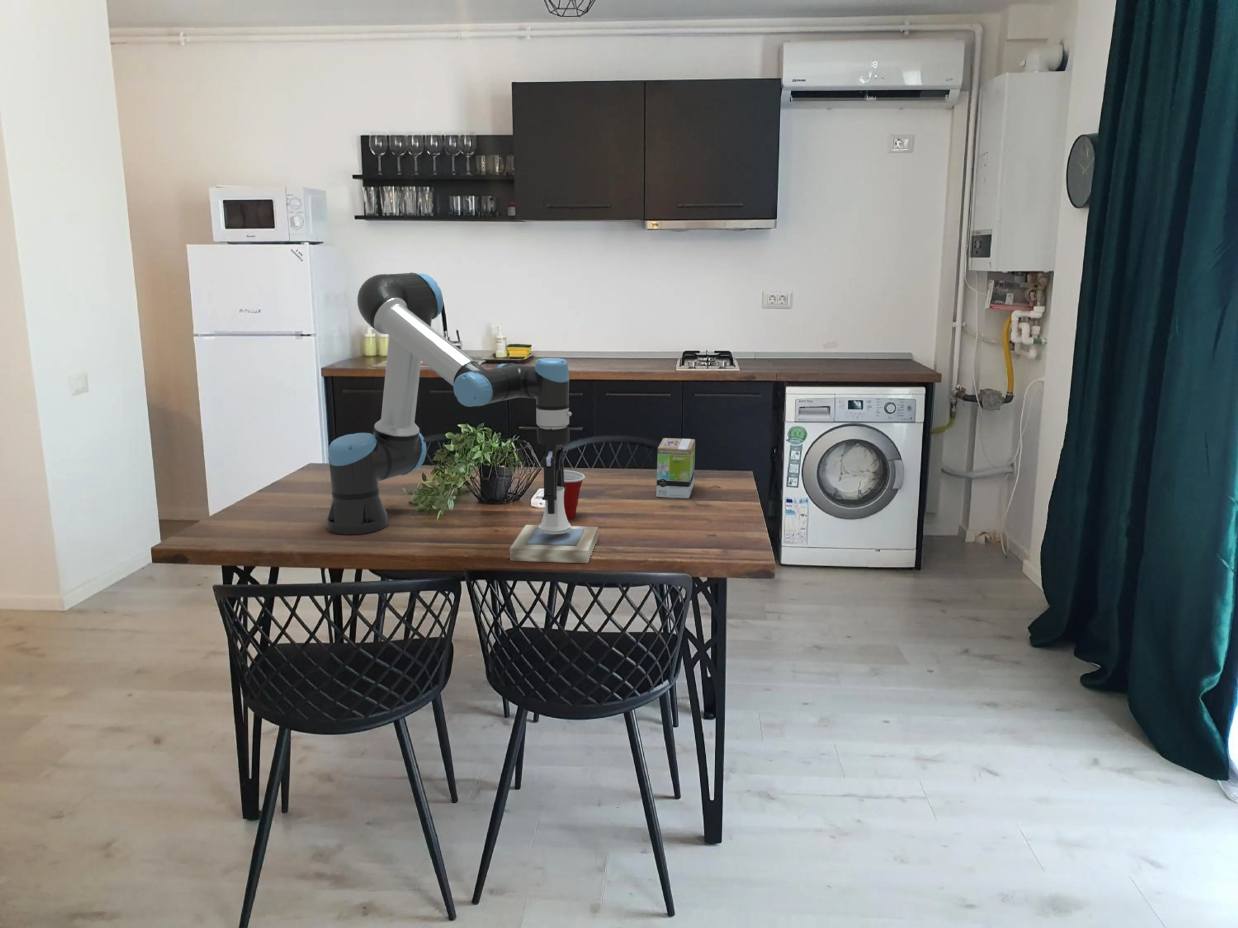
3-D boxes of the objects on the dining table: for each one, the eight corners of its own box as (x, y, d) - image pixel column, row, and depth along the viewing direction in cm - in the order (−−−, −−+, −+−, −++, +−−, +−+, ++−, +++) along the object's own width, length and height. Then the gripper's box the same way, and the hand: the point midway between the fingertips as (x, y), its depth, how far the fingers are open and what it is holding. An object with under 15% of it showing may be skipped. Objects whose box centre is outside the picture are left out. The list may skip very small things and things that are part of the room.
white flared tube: (577, 529, 215) (576, 488, 213) (554, 536, 210) (553, 494, 208) (555, 522, 220) (554, 482, 218) (532, 529, 215) (531, 489, 212)
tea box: (690, 499, 259) (691, 448, 255) (655, 497, 260) (655, 447, 257) (694, 485, 273) (695, 437, 270) (661, 484, 275) (661, 436, 271)
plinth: (510, 560, 208) (509, 546, 208) (526, 536, 226) (525, 523, 225) (587, 563, 207) (587, 549, 206) (598, 538, 224) (597, 525, 223)
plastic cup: (580, 524, 235) (579, 479, 233) (539, 522, 237) (538, 477, 235) (589, 512, 246) (589, 469, 243) (551, 510, 248) (550, 467, 245)
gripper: (562, 434, 199) (563, 534, 205) (575, 418, 218) (576, 510, 224) (528, 434, 200) (531, 533, 206) (544, 417, 219) (546, 509, 224)
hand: (554, 521), depth 215 cm, fingers closed on white flared tube, 7 cm apart
